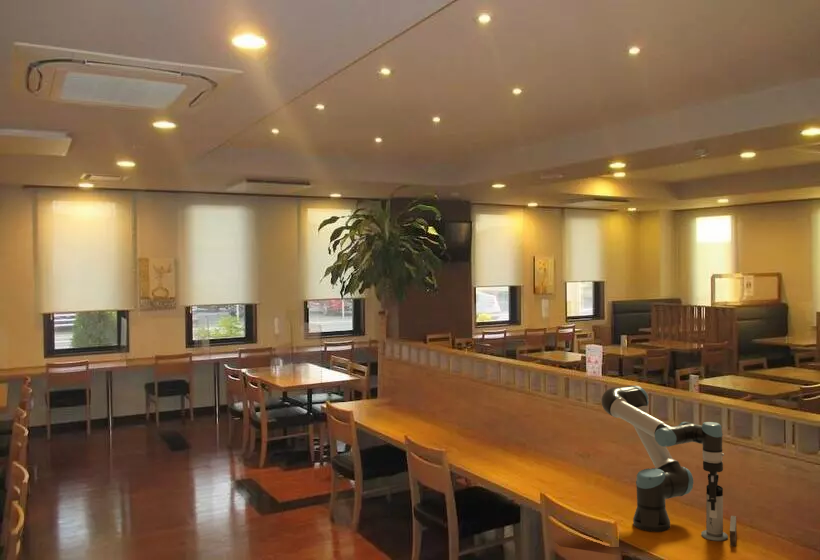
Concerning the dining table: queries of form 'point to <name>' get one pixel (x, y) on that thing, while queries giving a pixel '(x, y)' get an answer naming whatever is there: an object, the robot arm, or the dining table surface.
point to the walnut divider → (733, 531)
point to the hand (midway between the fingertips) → (714, 512)
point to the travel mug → (716, 524)
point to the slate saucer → (714, 537)
